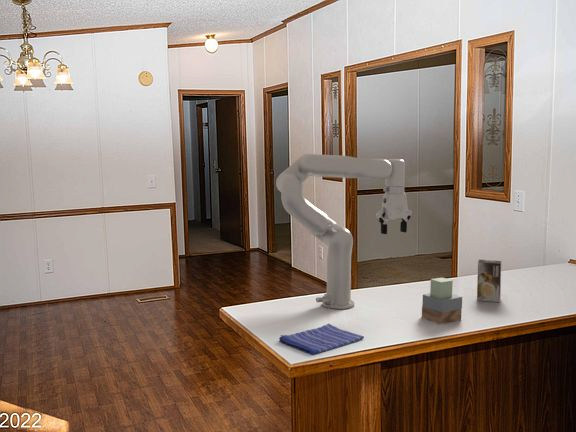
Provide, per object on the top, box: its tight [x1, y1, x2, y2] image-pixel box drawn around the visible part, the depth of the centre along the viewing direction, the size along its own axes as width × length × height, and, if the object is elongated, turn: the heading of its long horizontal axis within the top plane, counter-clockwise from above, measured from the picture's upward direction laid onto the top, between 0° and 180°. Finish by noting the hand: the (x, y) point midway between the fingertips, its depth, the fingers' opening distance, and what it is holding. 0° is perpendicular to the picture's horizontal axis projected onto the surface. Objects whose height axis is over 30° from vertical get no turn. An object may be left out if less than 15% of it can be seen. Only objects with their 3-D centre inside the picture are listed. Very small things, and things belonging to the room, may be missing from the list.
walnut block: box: [421, 306, 463, 325], centre depth 227 cm, size 10×10×4 cm
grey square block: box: [421, 292, 463, 313], centre depth 227 cm, size 10×10×4 cm
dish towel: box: [279, 323, 365, 356], centre depth 203 cm, size 17×24×3 cm
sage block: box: [429, 277, 453, 298], centre depth 226 cm, size 6×6×6 cm
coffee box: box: [476, 259, 502, 303], centre depth 253 cm, size 9×6×16 cm
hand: (393, 232), depth 247 cm, fingers open, 9 cm apart
